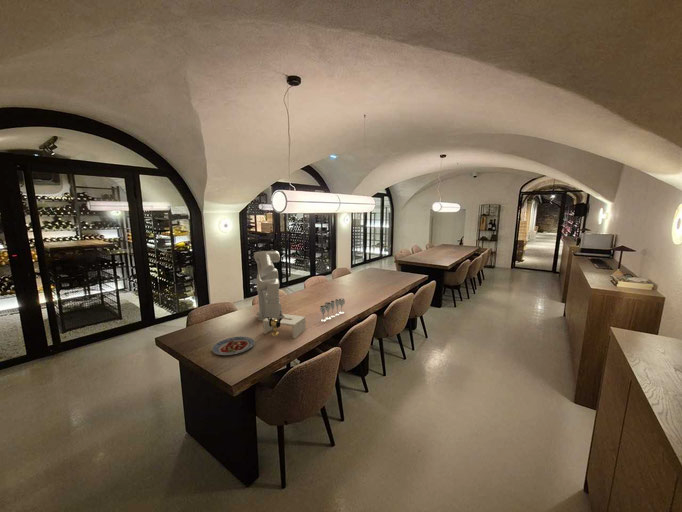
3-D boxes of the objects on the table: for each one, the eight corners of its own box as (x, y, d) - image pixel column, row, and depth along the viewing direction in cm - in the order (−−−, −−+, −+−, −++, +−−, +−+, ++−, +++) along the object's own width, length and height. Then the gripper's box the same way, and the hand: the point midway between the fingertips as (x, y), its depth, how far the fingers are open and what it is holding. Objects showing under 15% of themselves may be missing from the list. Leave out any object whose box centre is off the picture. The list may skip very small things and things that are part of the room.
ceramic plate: (225, 338, 200) (224, 334, 199) (260, 339, 197) (260, 335, 197) (204, 357, 175) (203, 352, 174) (244, 358, 172) (243, 354, 171)
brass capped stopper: (270, 336, 189) (269, 321, 187) (274, 333, 194) (273, 318, 192) (276, 337, 187) (275, 322, 185) (280, 334, 192) (279, 319, 190)
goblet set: (323, 322, 226) (323, 306, 224) (318, 320, 230) (318, 304, 228) (346, 312, 247) (346, 297, 245) (341, 311, 251) (341, 296, 249)
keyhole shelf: (263, 333, 207) (262, 320, 206) (276, 325, 222) (275, 313, 220) (294, 338, 198) (294, 324, 196) (305, 329, 212) (305, 316, 211)
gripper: (259, 300, 186) (260, 326, 189) (281, 303, 180) (282, 330, 183) (266, 297, 193) (267, 322, 196) (287, 299, 187) (289, 326, 190)
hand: (274, 326), depth 189 cm, fingers closed on brass capped stopper, 5 cm apart
